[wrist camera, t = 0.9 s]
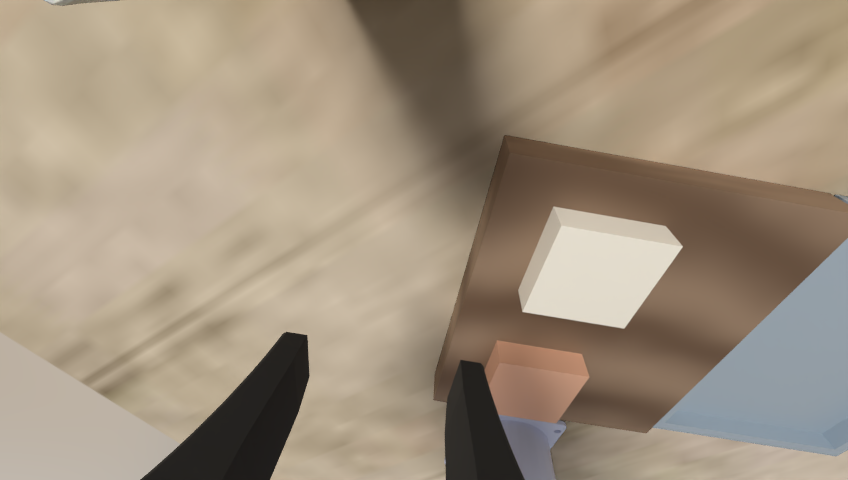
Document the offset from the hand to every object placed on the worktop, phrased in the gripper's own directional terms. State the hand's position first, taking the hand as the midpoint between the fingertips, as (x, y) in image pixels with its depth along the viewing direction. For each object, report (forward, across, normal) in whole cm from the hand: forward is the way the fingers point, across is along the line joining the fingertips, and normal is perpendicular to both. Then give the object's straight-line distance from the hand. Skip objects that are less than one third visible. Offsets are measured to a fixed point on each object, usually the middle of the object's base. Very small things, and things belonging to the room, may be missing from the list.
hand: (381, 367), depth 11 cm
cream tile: (+7, -8, 0) cm, 11 cm away
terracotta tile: (+7, -8, +9) cm, 14 cm away
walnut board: (+9, -11, +4) cm, 15 cm away
